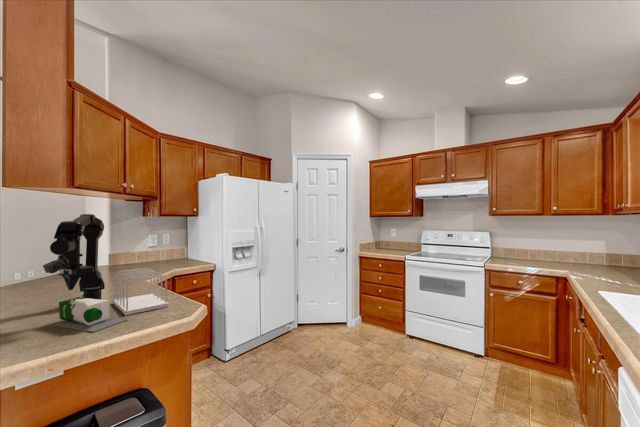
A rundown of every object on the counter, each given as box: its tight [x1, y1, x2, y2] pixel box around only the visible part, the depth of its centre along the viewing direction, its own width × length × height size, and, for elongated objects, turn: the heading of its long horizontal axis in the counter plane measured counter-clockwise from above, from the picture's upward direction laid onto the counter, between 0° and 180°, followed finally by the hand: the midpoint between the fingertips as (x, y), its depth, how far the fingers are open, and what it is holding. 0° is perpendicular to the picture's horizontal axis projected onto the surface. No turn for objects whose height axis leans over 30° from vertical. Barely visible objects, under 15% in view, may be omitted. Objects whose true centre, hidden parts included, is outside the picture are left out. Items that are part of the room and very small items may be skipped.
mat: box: [53, 315, 129, 334], centre depth 114 cm, size 13×22×1 cm, turn 72°
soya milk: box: [58, 296, 110, 326], centre depth 115 cm, size 9×9×20 cm
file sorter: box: [112, 267, 170, 316], centre depth 137 cm, size 25×17×16 cm
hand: (70, 290), depth 118 cm, fingers closed
